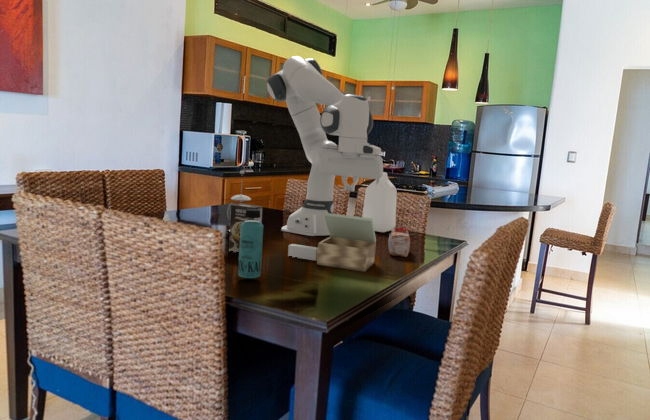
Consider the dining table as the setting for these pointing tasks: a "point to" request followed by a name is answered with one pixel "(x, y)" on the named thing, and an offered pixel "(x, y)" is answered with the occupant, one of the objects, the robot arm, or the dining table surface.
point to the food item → (399, 242)
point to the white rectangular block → (303, 251)
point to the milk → (381, 204)
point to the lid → (350, 227)
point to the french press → (239, 198)
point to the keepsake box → (346, 253)
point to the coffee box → (237, 220)
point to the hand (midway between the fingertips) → (349, 190)
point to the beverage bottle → (250, 246)
